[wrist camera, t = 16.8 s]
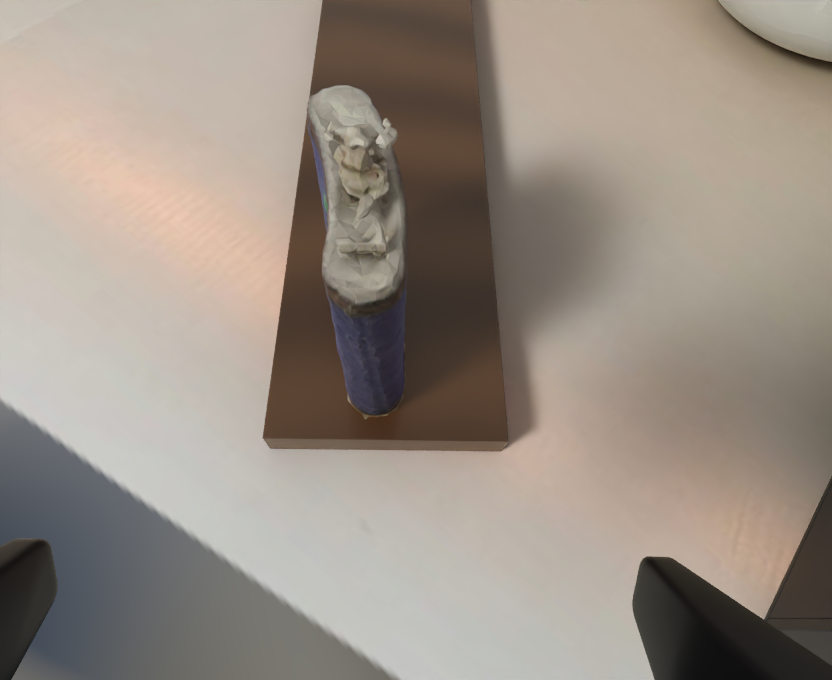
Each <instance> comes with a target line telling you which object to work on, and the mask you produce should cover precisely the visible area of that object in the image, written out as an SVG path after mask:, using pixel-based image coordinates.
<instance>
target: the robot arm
mask: <svg viewBox="0 0 832 680" xmlns="http://www.w3.org/2000/svg"><path fill="white" fill-rule="evenodd" d="M57 587H58V584H57V577H56V571H55V566H54V561H53V555H52V550H51V546H50V544H49V543H48V541H46V540H44V539H27V538H20V539H15V540H12V541H10V542H8V543H6V544H3V545H1V546H0V680H11V679H12V677H13V675H14V674H15V672H16V670H17V668H18V666H19V664H20V663H21V661H22V659H23V657H24V655H25V653H26V652H27V650H28V648H29V646H30V644H31V642H32V641H33V639H34V637H35V635H36V633H37V631H38V630H39V628H40V626H41V624H42V622H43V620H44V619H45V617H46V615H47V613H48V611H49V609H50V607H51V606H52V604H53V602H54V599H55V597H56V593H57ZM632 605H633V613H634V617H635V620H636V623H637V626H638V629H639V633H640V636H641V639H642V642H643V645H644V648H645V651H646V654H647V657H648V660H649V663H650V667H651V670H652V673H653V676H654V679H655V680H832V666H831V665H830V664H828V663H827V662H825V661H824V660H822V659H821V658H820V657H818V656H817V655H815V654H814V653H812V652H811V651H809V650H808V649H806V648H805V647H803V646H802V645H800V644H799V643H797V642H796V641H794V640H793V639H791V638H790V637H788V636H787V635H785V634H784V633H782V632H781V631H779V630H778V629H776V628H775V627H773V626H772V625H771V624H769V623H768V622H766V621H765V620H763V619H762V618H760V617H759V616H757V615H756V614H754V613H753V612H751V611H750V610H748V609H747V608H745V607H744V606H742V605H741V604H739V603H738V602H736V601H735V600H733V599H732V598H730V597H729V596H727V595H726V594H725V593H723V592H722V591H720V590H719V589H717V588H716V587H714V586H713V585H711V584H710V583H708V582H707V581H705V580H704V579H702V578H701V577H699V576H698V575H696V574H695V573H693V572H692V571H690V570H689V569H687V568H686V567H684V566H683V565H681V564H680V563H679V562H677V561H676V560H674V559H672V558H669V557H645V558H644V559H643V560H642V561H641V563H640V567H639V571H638V576H637V581H636V585H635V590H634V595H633V604H632Z"/></svg>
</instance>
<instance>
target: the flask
mask: <svg viewBox="0 0 832 680" xmlns="http://www.w3.org/2000/svg"><path fill="white" fill-rule="evenodd" d="M307 120H308V122H307V128H308V132H309V135H310V137H311V142H312V146H313V151H314V157H315V163H316V169H317V176H318V182H319V187H320V192H321V199H322V205H323V211H324V220H325V226H326V231H327V234H326V240H325V245H324V249H323V255H322V278H323V281H324V285H325V290H326V295H327V298H328V300H329V302H330V308H331V315H332V322H333V325H334V329H335V333H336V344H337V350H338V353H339V356H340V360H341V363H342V367H343V373H344V377H345V386H346V389H347V392H348V401H349V402H350V404H351V405H352V406H353V407H354V408H355V409H356V410H357V411H358V412H360V413H362V415H363V417H364V418H365V419H367V418H368V417H379V416H387V415H388V414H390V413H391V412H393V411H395V410H396V409H397V408H398V406H399V404H400V403H401V401H402V398H403V390H404V387H405V381H406V377H405V375H406V373H405V362H406V361H405V359H406V353H405V352H404V351H405V350H404V348H405V343H404V337H405V305H406V284H407V274H408V229H409V220H408V208H407V201H406V195H405V189H404V182H403V181H402V175H401V172H400V168H399V163H398V158H397V155H396V153H395V151H394V148H393V144H394V143H395V141H396V139H397V136H398V134H397V130H396V129H394V128H392V127H391V123H390V121H389V120H388V119H387V118H386V119H384V120H382V118H381V115H380V113H379V112H378V111H377V108H376V105H375V104H374V103H373V102H372V101H371V98H370V97H369V96H368V95H367V94H366V93H365V92H364V91H363V90H361V89H357V88H354V87H351V86H348V85H336V86H333V87H330V88H325V89H322V90H321V91H319V92H318V93H317V94H314V95H312V96H310V99H309V103H308V108H307Z"/></svg>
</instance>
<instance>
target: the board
mask: <svg viewBox="0 0 832 680" xmlns="http://www.w3.org/2000/svg"><path fill="white" fill-rule="evenodd" d="M336 85H348V86H351V87H354V88H357V89H361V90H363V91H364V92H365V93H366V94H367V95H368V96H369V97H370V98H371V101H372V102H373V103H374V104H375V105H376V108H377V111H378V112H379V113H380V115H381V118H382V120H384V119H386V118H387V119H388V120H389V121H390V123H391V127H392V128H394V129H396V130H397V134H398V136H397V139H396V141H395V143H394V144H393V148H394V151H395V153H396V155H397V158H398V163H399V168H400V172H401V175H402V181H403V182H404V189H405V195H406V201H407V208H408V220H409V229H408V274H407V284H406V305H405V337H404V343H405V348H404V350H405V351H404V352H405V353H406V359H405V361H406V362H405V373H406V375H405V377H406V381H405V387H404V390H403V398H402V401H401V403H400V404H399V406H398V408H397V409H396V410H395V411H393V412H391V413H390V414H388V415H387V416H379V417H368V418H367V419H365V418H364V417H363V415H362V413H360V412H358V411H357V410H356V409H355V408H354V407H353V406H352V405H351V404H350V402H349V401H348V392H347V389H346V386H345V377H344V373H343V367H342V363H341V360H340V356H339V353H338V350H337V344H336V333H335V329H334V325H333V322H332V315H331V308H330V302H329V300H328V298H327V295H326V290H325V285H324V281H323V278H322V255H323V249H324V245H325V240H326V234H327V231H326V226H325V220H324V211H323V205H322V199H321V192H320V187H319V182H318V176H317V169H316V163H315V157H314V151H313V146H312V142H311V137H310V135H309V132H308V128H307V122H308V120H307V119H306V126H305V133H304V141H303V148H302V155H301V163H300V170H299V177H298V184H297V192H296V199H295V206H294V214H293V221H292V228H291V235H290V243H289V250H288V257H287V265H286V272H285V279H284V287H283V294H282V301H281V308H280V316H279V323H278V330H277V338H276V345H275V352H274V359H273V367H272V374H271V381H270V389H269V396H268V403H267V411H266V418H265V425H264V432H263V439H264V440H265V442H266V443H267V445H268V446H269V448H274V449H358V450H441V451H502V450H503V448H504V447H505V445H506V444H507V442H508V429H507V418H506V406H505V394H504V383H503V371H502V359H501V348H500V336H499V324H498V313H497V301H496V289H495V278H494V266H493V254H492V243H491V231H490V219H489V208H488V196H487V184H486V173H485V161H484V149H483V138H482V126H481V114H480V103H479V91H478V79H477V68H476V56H475V45H474V33H473V21H472V10H471V0H323V2H322V9H321V17H320V24H319V31H318V39H317V46H316V53H315V60H314V68H313V75H312V82H311V90H310V96H312V95H314V94H317V93H318V92H319V91H321V90H322V89H325V88H330V87H333V86H336ZM309 99H310V97H309Z"/></svg>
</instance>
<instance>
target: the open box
mask: <svg viewBox="0 0 832 680" xmlns="http://www.w3.org/2000/svg"><path fill="white" fill-rule="evenodd" d="M765 621H766V622H768V623H769V624H771V625H772V626H773V627H775V628H776V629H778V630H779V631H781V632H782V633H784V634H785V635H787V636H788V637H790V638H791V639H793V640H794V641H796V642H797V643H799V644H800V645H802V646H803V647H805V648H806V649H808V650H809V651H811V652H812V653H814V654H815V655H817V656H818V657H820V658H821V659H822V660H824V661H825V662H827V663H828V664H830V665H831V666H832V477H831V479H830V481H829V484H828V486H827V488H826V490H825V492H824V494H823V496H822V498H821V501H820V503H819V505H818V507H817V509H816V511H815V513H814V515H813V518H812V520H811V522H810V524H809V526H808V528H807V530H806V532H805V535H804V537H803V539H802V541H801V543H800V545H799V547H798V549H797V552H796V554H795V556H794V558H793V560H792V562H791V564H790V566H789V569H788V571H787V573H786V575H785V577H784V579H783V581H782V583H781V586H780V588H779V590H778V592H777V594H776V596H775V598H774V600H773V603H772V605H771V607H770V609H769V611H768V613H767V615H766V617H765Z"/></svg>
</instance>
